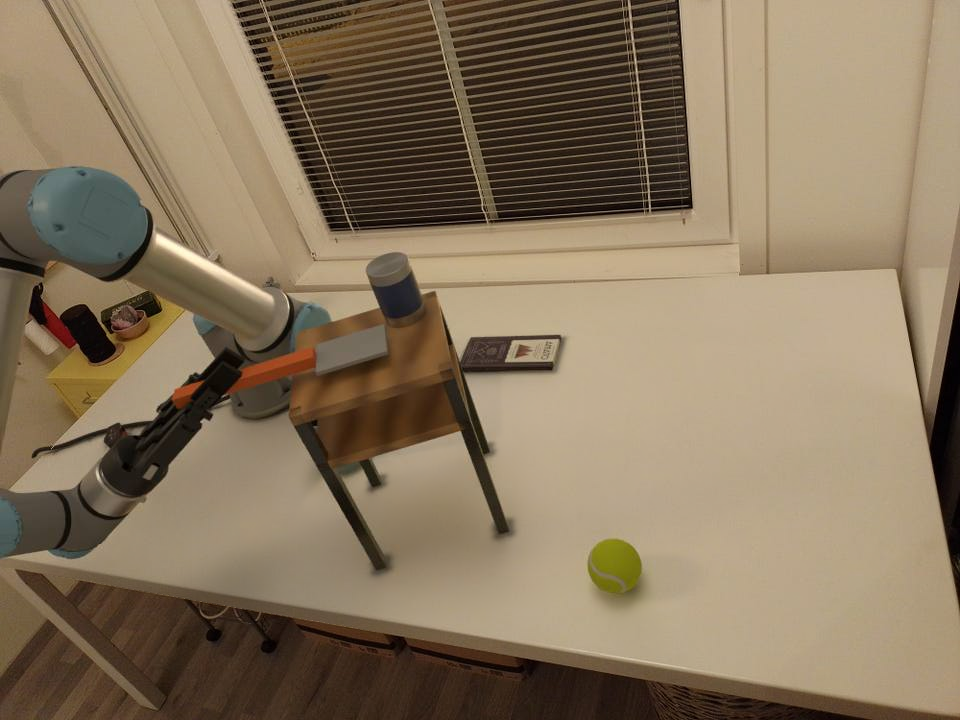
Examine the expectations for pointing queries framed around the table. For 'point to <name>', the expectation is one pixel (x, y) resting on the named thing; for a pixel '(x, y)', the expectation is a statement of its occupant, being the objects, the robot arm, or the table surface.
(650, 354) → the table surface
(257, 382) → the spatula
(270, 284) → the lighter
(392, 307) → the tin can
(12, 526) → the robot arm
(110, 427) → the dark brown lumpy chunk
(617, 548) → the tennis ball
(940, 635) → the table surface
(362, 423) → the side table
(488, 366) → the chocolate bar
